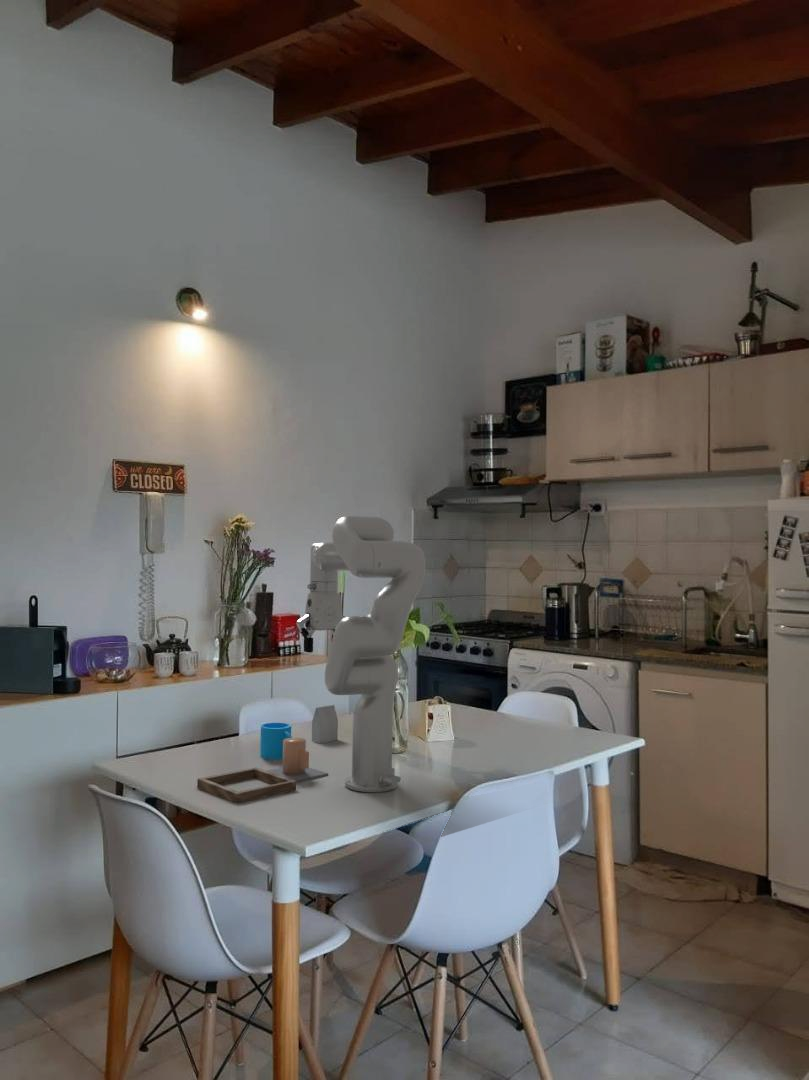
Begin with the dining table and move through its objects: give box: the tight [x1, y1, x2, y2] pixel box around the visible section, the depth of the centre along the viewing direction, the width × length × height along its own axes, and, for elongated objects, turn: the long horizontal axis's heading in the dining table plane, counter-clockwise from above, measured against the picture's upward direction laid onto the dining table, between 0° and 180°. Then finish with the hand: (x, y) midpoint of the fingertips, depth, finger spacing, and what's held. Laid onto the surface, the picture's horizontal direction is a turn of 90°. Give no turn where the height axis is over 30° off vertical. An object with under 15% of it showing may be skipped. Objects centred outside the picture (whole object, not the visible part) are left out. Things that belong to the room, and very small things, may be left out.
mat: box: [265, 766, 329, 783], centre depth 222 cm, size 12×12×1 cm
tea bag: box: [311, 704, 339, 744], centre depth 261 cm, size 4×7×10 cm, turn 136°
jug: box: [282, 737, 310, 775], centre depth 221 cm, size 8×6×8 cm
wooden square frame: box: [196, 767, 297, 804], centre depth 209 cm, size 16×16×2 cm
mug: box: [259, 722, 293, 760], centre depth 240 cm, size 12×8×8 cm
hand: (322, 650), depth 243 cm, fingers open, 9 cm apart
